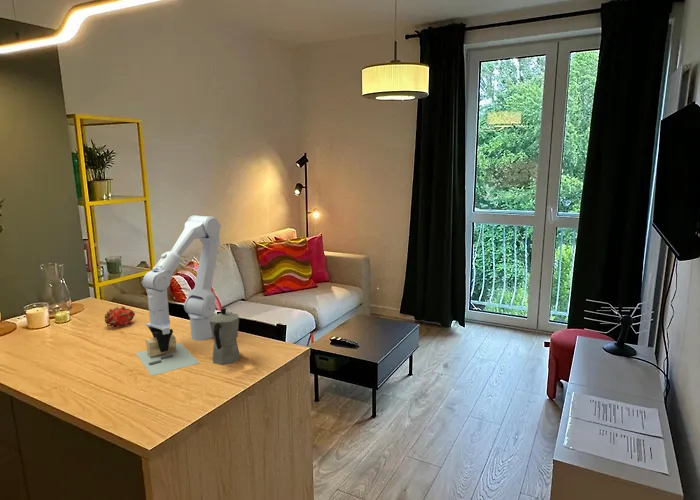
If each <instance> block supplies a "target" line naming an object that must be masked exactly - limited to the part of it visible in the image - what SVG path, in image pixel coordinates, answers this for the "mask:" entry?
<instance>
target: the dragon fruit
mask: <svg viewBox="0 0 700 500" xmlns="http://www.w3.org/2000/svg"><path fill="white" fill-rule="evenodd" d="M135 313H136V312H134V311H133V310H132V309H130V308H126V307H125V306H121V307H120V308H119V307H118V306H116V307H115V308H109V310H108V311H106V314H105V315H104V322H105V324H106V326H107V327H110V328H111V327H113V329H116V328H117V327H118V328H124V327H125V326H130V325H131V324H132V320H133V319H134V318H135Z"/></svg>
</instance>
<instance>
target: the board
mask: <svg viewBox="0 0 700 500" xmlns="http://www.w3.org/2000/svg"><path fill="white" fill-rule="evenodd" d="M176 350H177V352H174V353H170V354H166V355H162V356H158V357H153V358H150V357H149V356H148V354H147V350H142V351H140V352H135V354H136V356H137V357H138V359H139V360H140V361H141V363H142V364H143V366H144V368H145V369H146V370H147V372H148V373H149V374H150V376H152V377H153V376H156V375H161V374H163V373H167V372H171V371H175V370H179V369H182V368H186V367H190V366H193V365H197V364H200V361H199V360H198V359H197V358H196V357H195V356H194V355H193V354H192V353H190V351H189V350H188V349H187V348H186V347H185V346H184V345H183V344H182V343H181V342H176ZM168 355H173V357H171V358H167V359H163V360H161V357H163V356H168ZM158 360H161V361H162V362H161V363H157V364H153V365H149V363H150V362H154V361H158Z"/></svg>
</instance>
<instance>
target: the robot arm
mask: <svg viewBox="0 0 700 500" xmlns="http://www.w3.org/2000/svg"><path fill="white" fill-rule="evenodd" d="M220 223H221V222H219V220H218V218H217V217H215V216H212V215H210V216H209V215H208V216H206V215H195V214H193V215H191V216H190V217H188V219H187V221H186V222H185V223H184V228H183V231H182V232H181V234H180V235H179V236H178V239H177V240H176V242H175V244H174V245H173V247H172V248H171V250H169V251H165V252H164V253H162V254H161V255H160V259H159V260H158V262H156V264H155V265H154V266H153V267H152V269H151V270H150V271H147V272H146V273H145V275H144V276H143V277H142V279H143V280H141V285H142V286H143V287H144V288H145V292H146V294H147V305H148V314H149V322H146V324H145V326H146V327H147V328H148V329H149V331H150V332H151V334H152V338H154V337H156V339H157V341H158V345H159V348H160V351H161V352H164V351H168V348H169V341H170V337H171V335H172V334H173V333H174V330H173V329H172V328H171V329H170V325H171V319H170V312H169V300H168V287H170V285H171V279H172V276H173V274H174V273H175V271H176V269H177V268H178V267H179V266H180V264H181V262H182V259H181V256H182V255H183V254H184V252H186V251H187V249H188V248H189V247H190V245H191V244H192V243H193V242H194V241H195V239H196V240H197V239H199V241H200V242H201V244H202V245H201V250H200V256H199V262H198V268H197V272H196V278H195V284H194V288H193V289H191V290H190V291H189V292H188V295H187V298H186V299H185V301H184V303H183V309H184V311H185V312H186V313H187V314H188V317H189V321H190V322H189V323H190V324H189V325H190V336H191V340H193V341H206V340H209V339H213V335H212V330H211V326H210V321H209V317H211V316H213V315H215V314H216V313H215V312H216V308H217V307H216V296H215V294H214V293H213V291H212V286H213V285H212V284H213V279H214V274H215V268H216V263H217V257H218V252H219V246H220V231H221V224H220Z"/></svg>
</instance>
